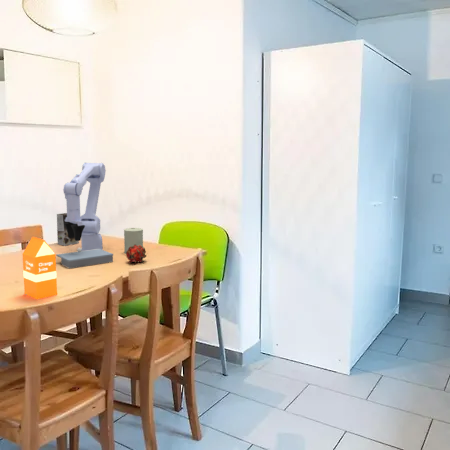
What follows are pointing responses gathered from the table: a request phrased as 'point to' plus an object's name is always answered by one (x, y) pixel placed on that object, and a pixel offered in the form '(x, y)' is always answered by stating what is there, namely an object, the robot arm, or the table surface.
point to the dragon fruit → (136, 253)
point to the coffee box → (63, 231)
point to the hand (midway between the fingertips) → (74, 239)
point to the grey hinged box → (86, 262)
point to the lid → (84, 254)
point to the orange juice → (39, 269)
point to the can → (132, 237)
